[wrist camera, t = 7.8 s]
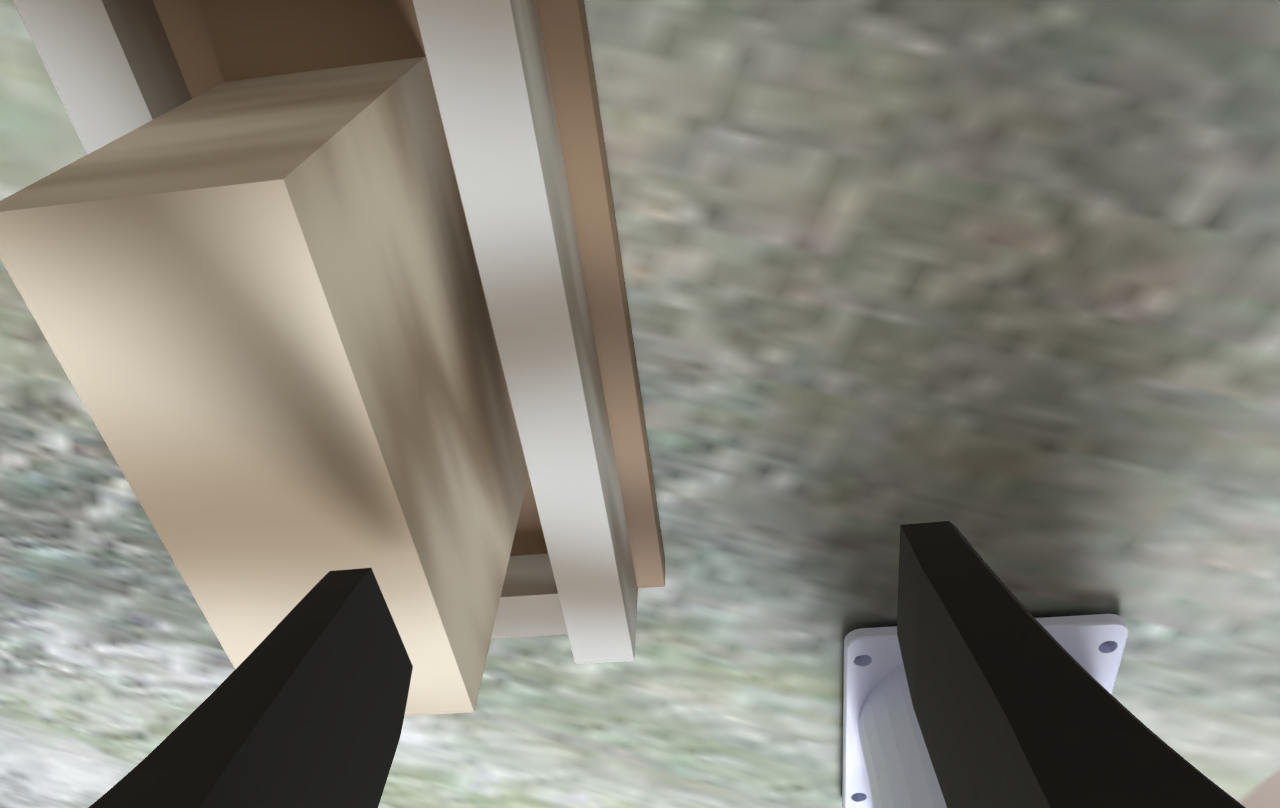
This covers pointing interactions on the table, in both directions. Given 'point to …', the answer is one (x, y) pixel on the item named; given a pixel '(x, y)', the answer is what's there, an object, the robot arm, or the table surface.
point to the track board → (499, 232)
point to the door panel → (291, 354)
